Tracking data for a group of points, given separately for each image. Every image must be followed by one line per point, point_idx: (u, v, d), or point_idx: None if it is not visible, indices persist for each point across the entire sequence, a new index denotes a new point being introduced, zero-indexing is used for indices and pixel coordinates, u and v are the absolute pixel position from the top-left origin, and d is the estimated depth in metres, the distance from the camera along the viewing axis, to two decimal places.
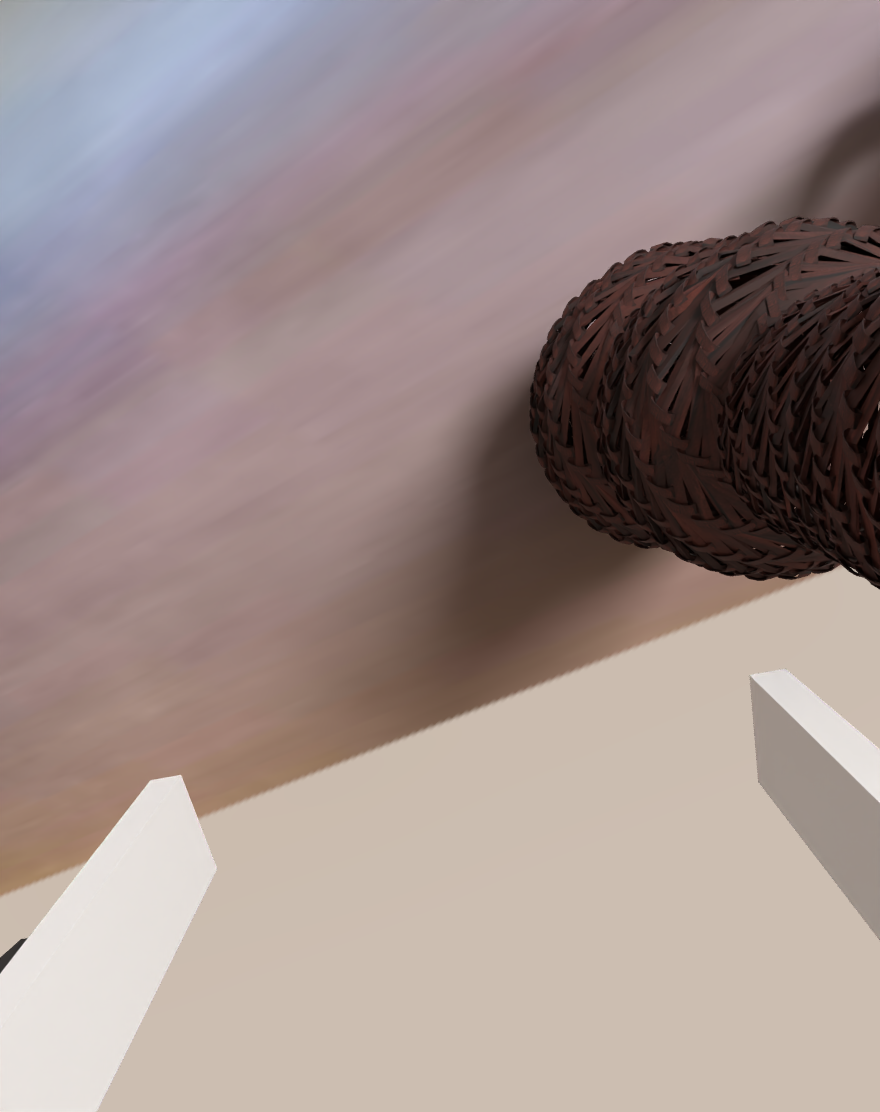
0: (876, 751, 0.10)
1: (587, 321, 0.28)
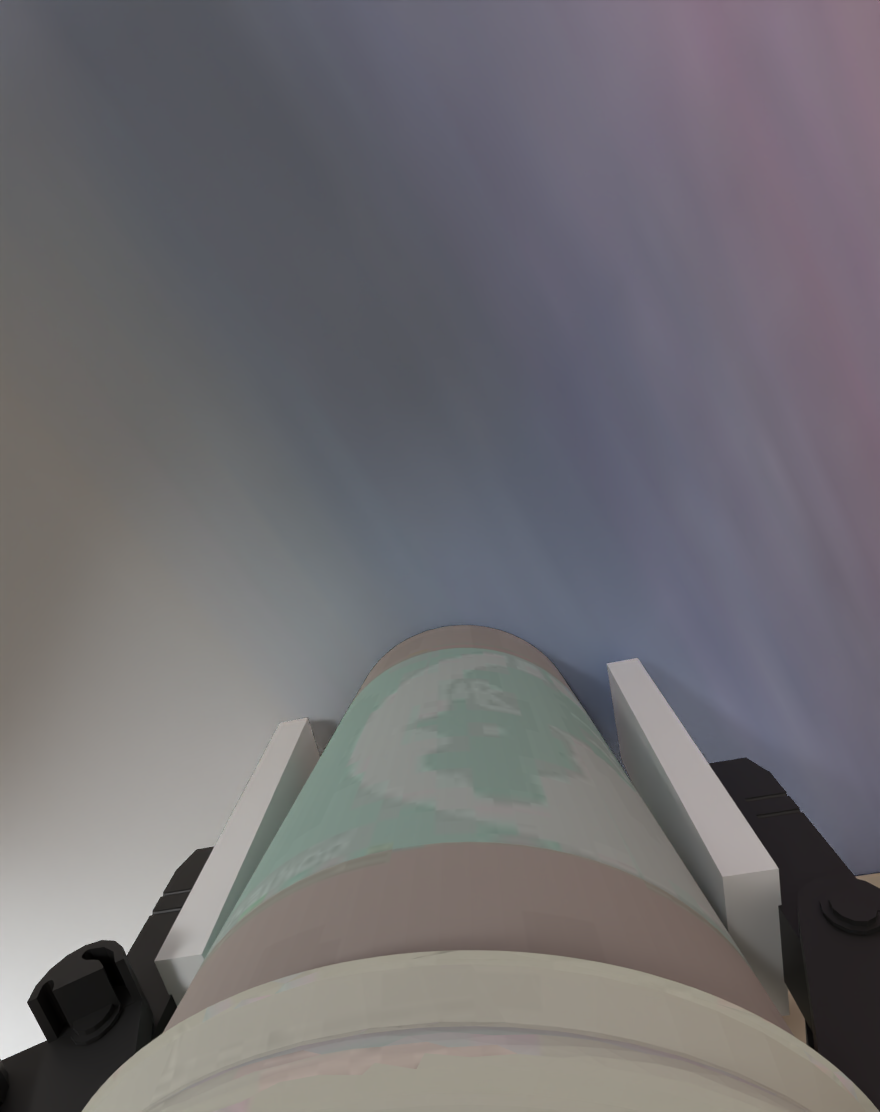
0: (680, 725, 0.12)
1: None
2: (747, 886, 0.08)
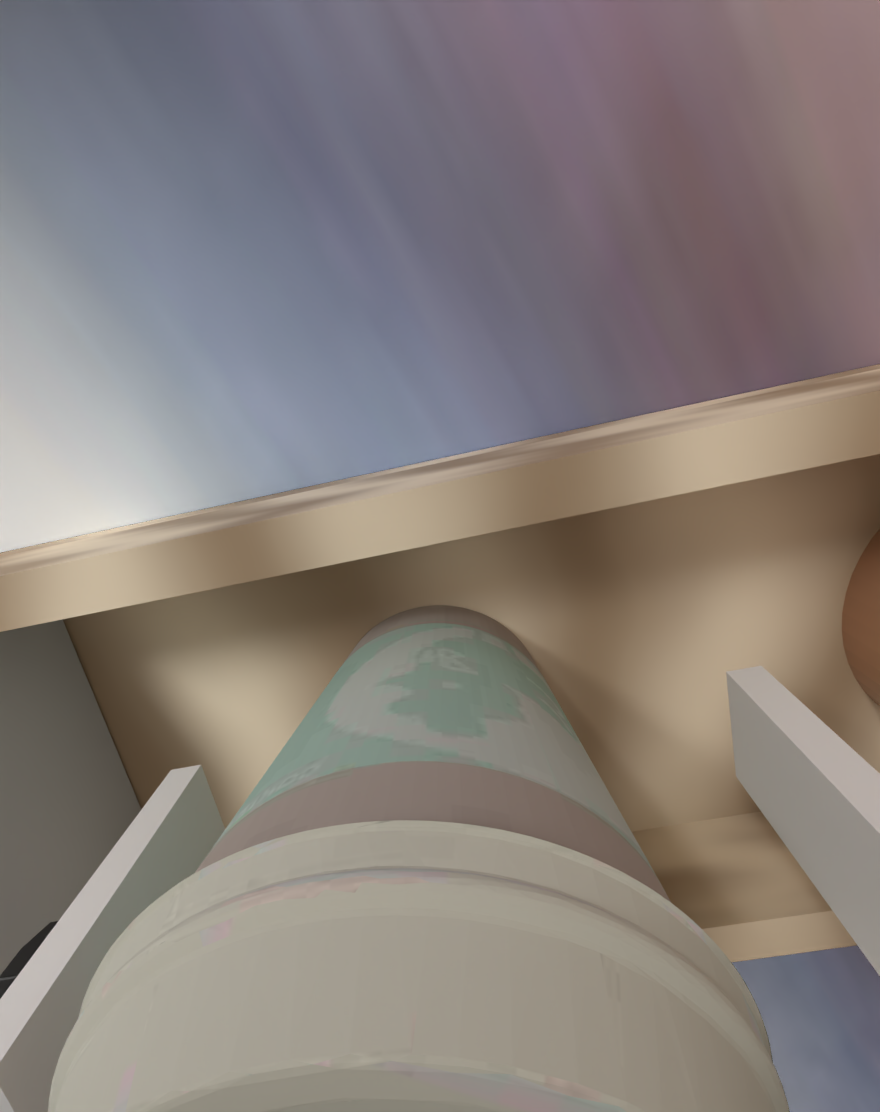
0: (843, 745, 0.10)
1: None
2: None
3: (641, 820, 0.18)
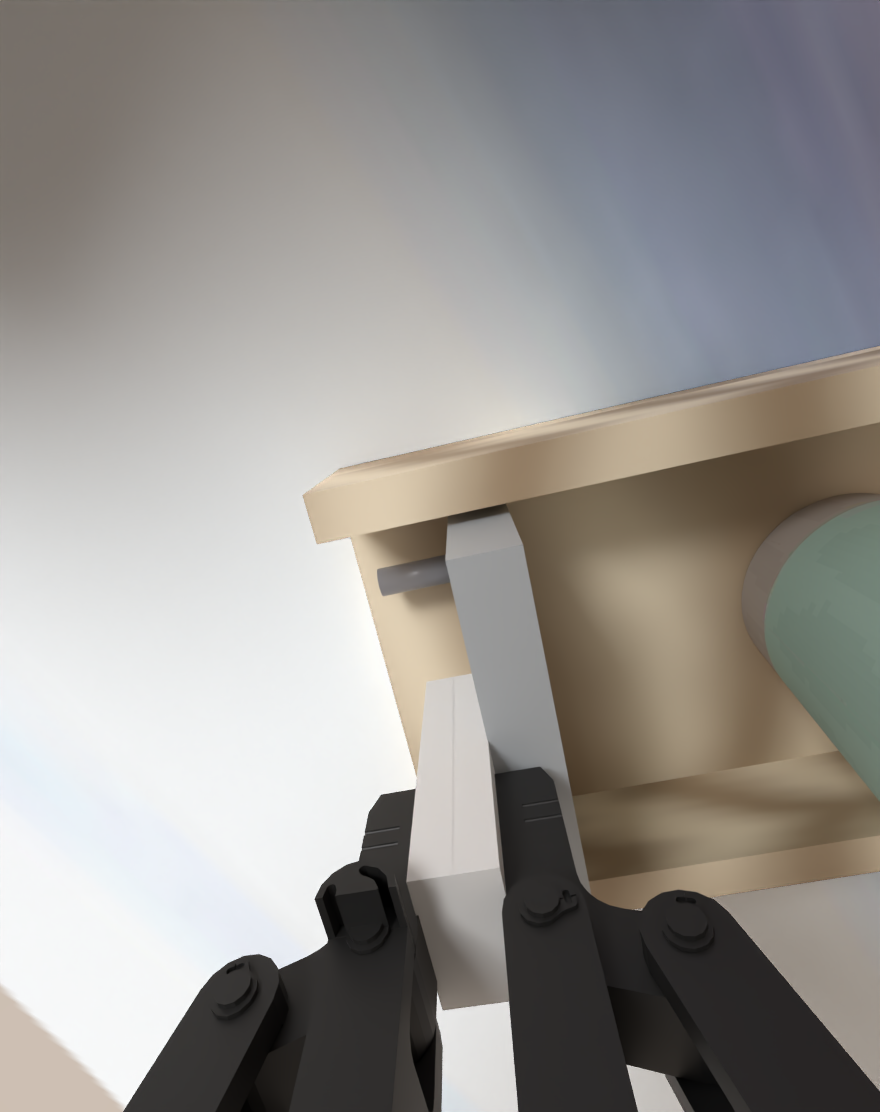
0: None
1: None
2: (475, 883, 0.09)
3: None
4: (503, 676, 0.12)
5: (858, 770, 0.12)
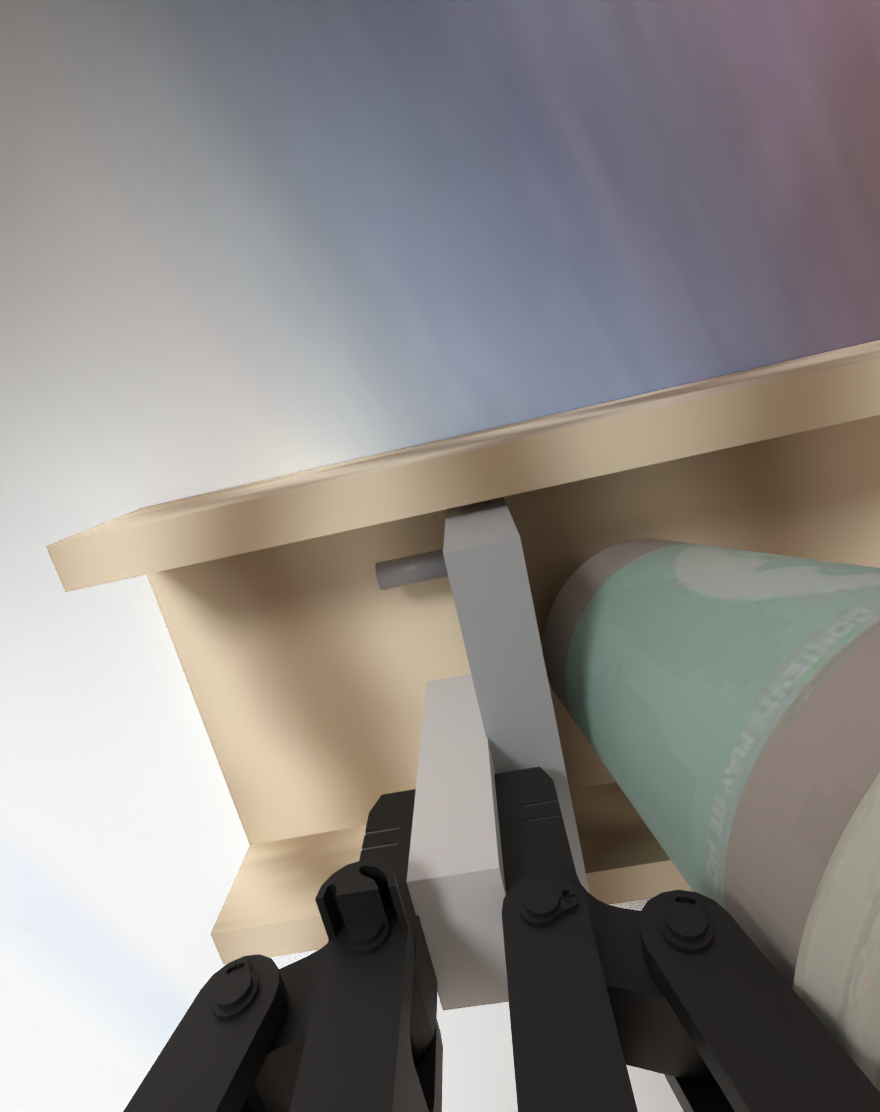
0: None
1: None
2: (474, 883, 0.09)
3: None
4: (501, 668, 0.12)
5: None
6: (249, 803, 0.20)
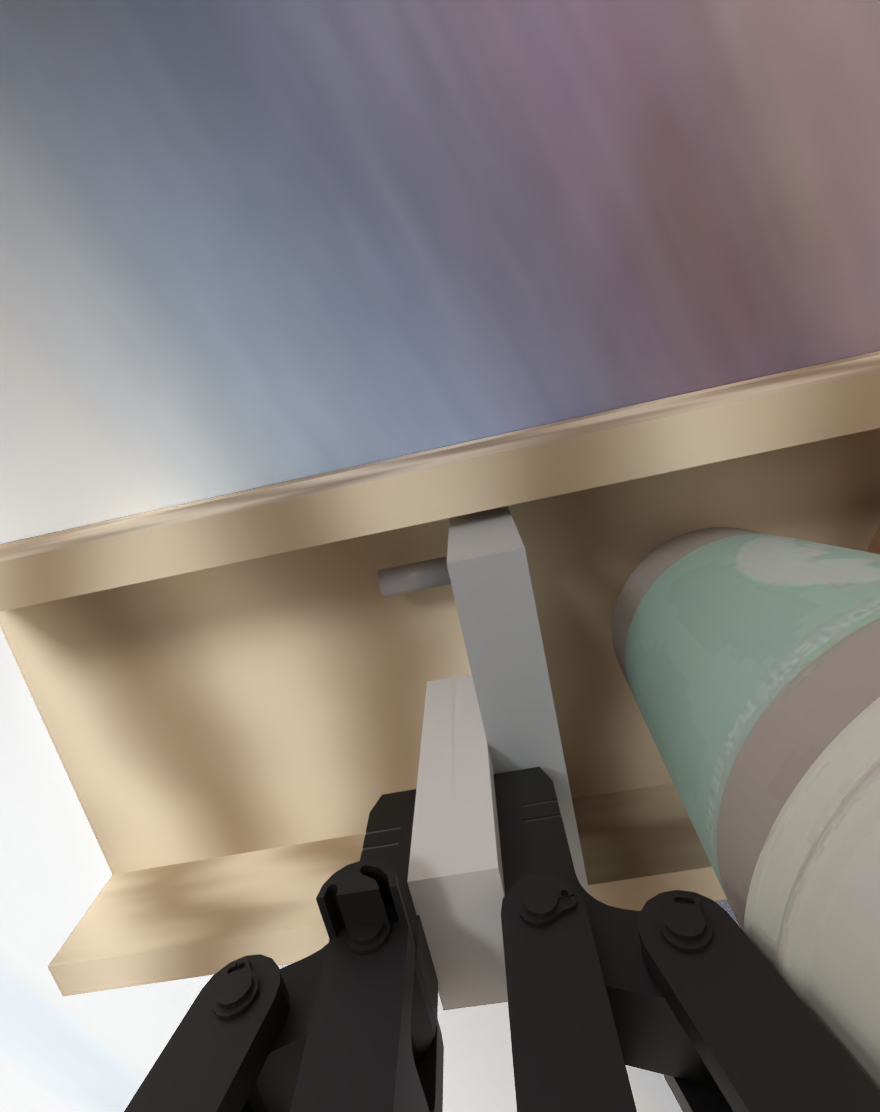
0: None
1: None
2: (474, 883, 0.09)
3: (642, 778, 0.19)
4: (504, 679, 0.12)
5: None
6: (109, 834, 0.21)
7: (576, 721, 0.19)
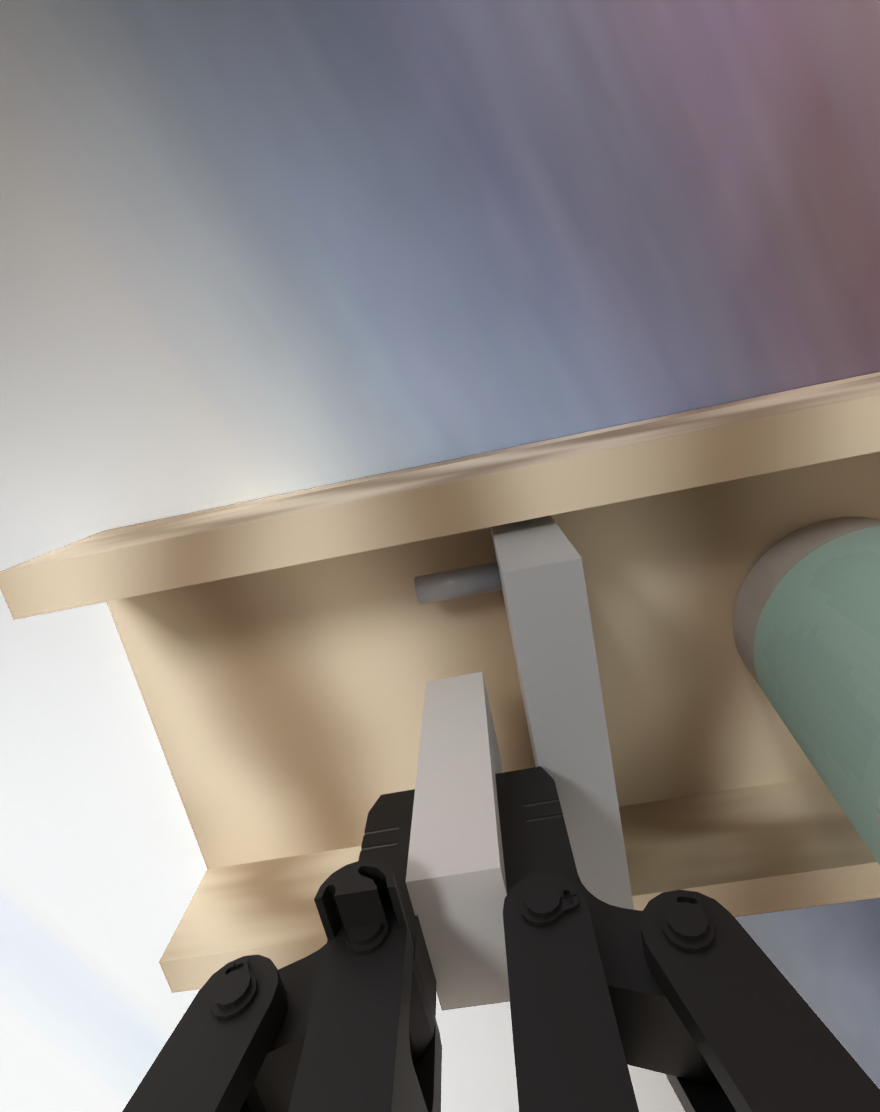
0: (488, 737, 0.13)
1: None
2: (475, 883, 0.09)
3: (758, 776, 0.19)
4: (556, 690, 0.12)
5: (836, 797, 0.12)
6: (207, 827, 0.20)
7: (694, 716, 0.19)
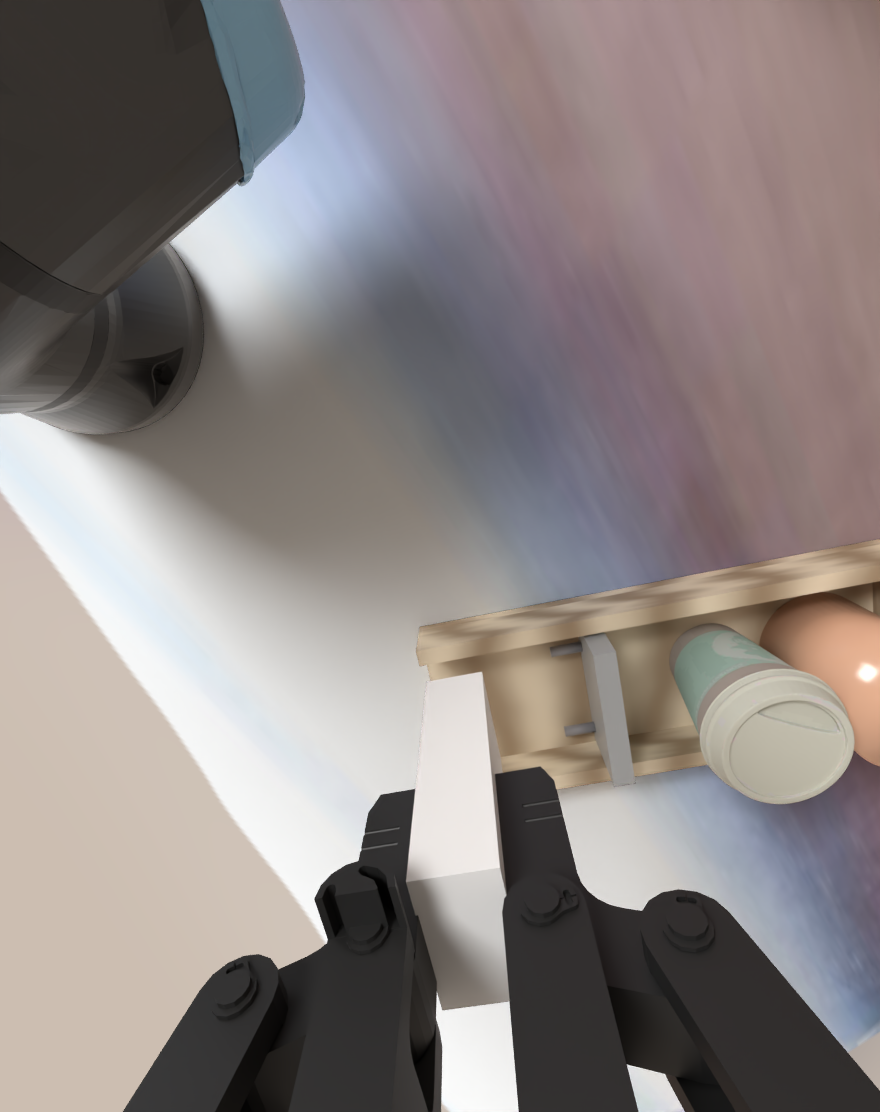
0: (488, 736, 0.13)
1: None
2: (475, 883, 0.09)
3: (682, 722, 0.47)
4: (608, 689, 0.40)
5: None
6: None
7: (655, 698, 0.47)
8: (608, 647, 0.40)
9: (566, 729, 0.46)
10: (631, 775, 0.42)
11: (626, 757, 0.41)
